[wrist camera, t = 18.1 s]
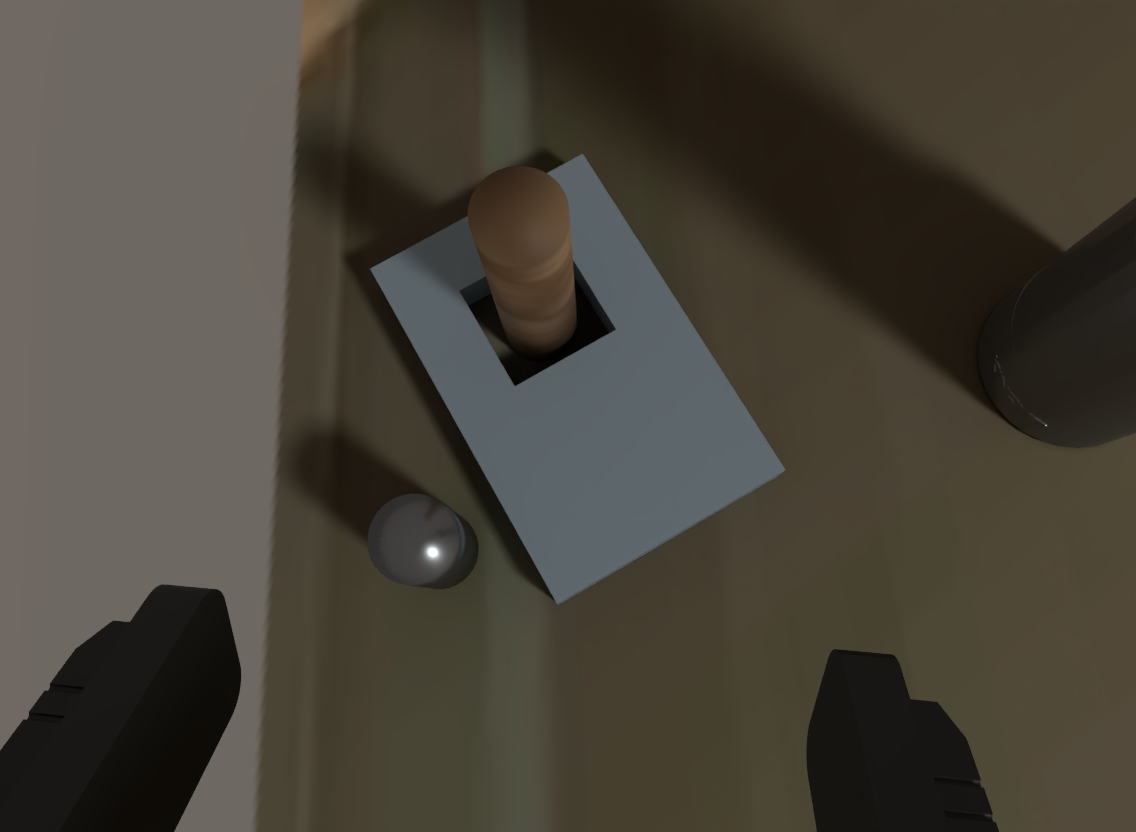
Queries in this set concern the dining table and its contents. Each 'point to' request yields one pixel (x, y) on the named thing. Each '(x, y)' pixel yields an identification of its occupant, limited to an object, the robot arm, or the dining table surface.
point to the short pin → (421, 543)
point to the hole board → (585, 399)
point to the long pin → (527, 258)
